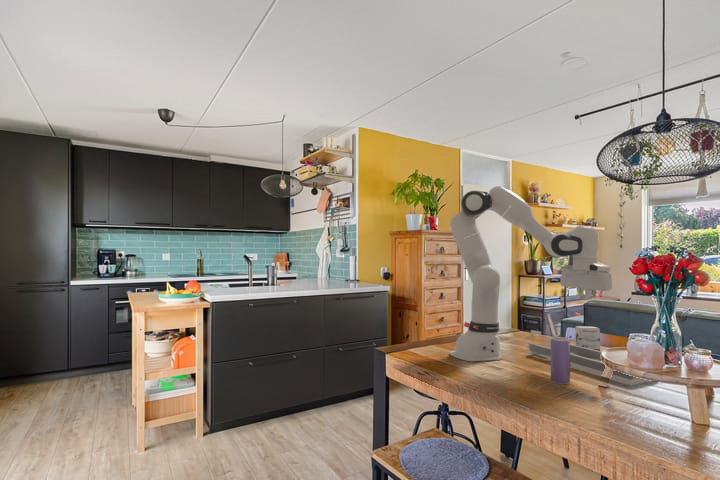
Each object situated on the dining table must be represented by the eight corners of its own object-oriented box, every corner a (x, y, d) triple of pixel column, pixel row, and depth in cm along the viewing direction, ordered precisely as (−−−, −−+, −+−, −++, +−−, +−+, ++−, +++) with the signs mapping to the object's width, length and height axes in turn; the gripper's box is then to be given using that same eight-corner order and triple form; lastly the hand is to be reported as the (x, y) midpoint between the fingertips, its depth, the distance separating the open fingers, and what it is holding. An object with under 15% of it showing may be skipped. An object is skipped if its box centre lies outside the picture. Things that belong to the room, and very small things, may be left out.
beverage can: (562, 385, 129) (562, 340, 130) (546, 380, 134) (546, 337, 135) (573, 383, 132) (573, 339, 132) (558, 378, 137) (557, 335, 138)
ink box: (594, 352, 174) (594, 326, 175) (600, 355, 169) (600, 328, 170) (574, 351, 175) (574, 325, 175) (579, 354, 170) (579, 327, 171)
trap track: (630, 385, 130) (630, 367, 130) (529, 354, 168) (529, 341, 168) (658, 379, 137) (658, 362, 137) (554, 351, 175) (554, 338, 175)
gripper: (557, 264, 165) (556, 296, 165) (604, 267, 147) (603, 303, 146) (567, 264, 168) (566, 296, 168) (614, 267, 149) (613, 303, 149)
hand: (584, 299), depth 157 cm, fingers closed
